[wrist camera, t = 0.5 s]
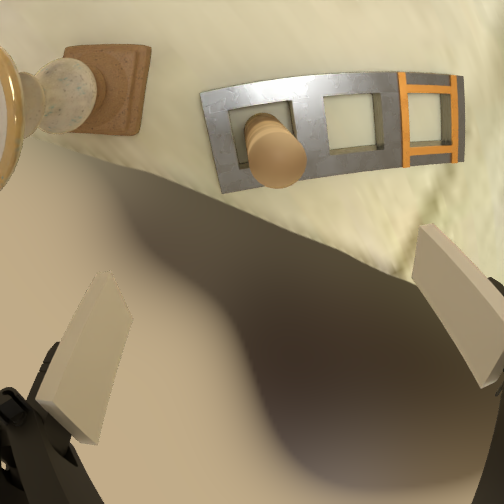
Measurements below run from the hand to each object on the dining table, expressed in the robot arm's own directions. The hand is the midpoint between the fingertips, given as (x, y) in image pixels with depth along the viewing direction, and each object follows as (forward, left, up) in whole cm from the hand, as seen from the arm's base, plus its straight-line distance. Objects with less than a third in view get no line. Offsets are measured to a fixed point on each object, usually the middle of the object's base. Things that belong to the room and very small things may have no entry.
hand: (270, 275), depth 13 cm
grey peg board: (-1, +12, -27) cm, 30 cm away
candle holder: (-11, -16, -27) cm, 33 cm away
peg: (-1, +2, -27) cm, 27 cm away
